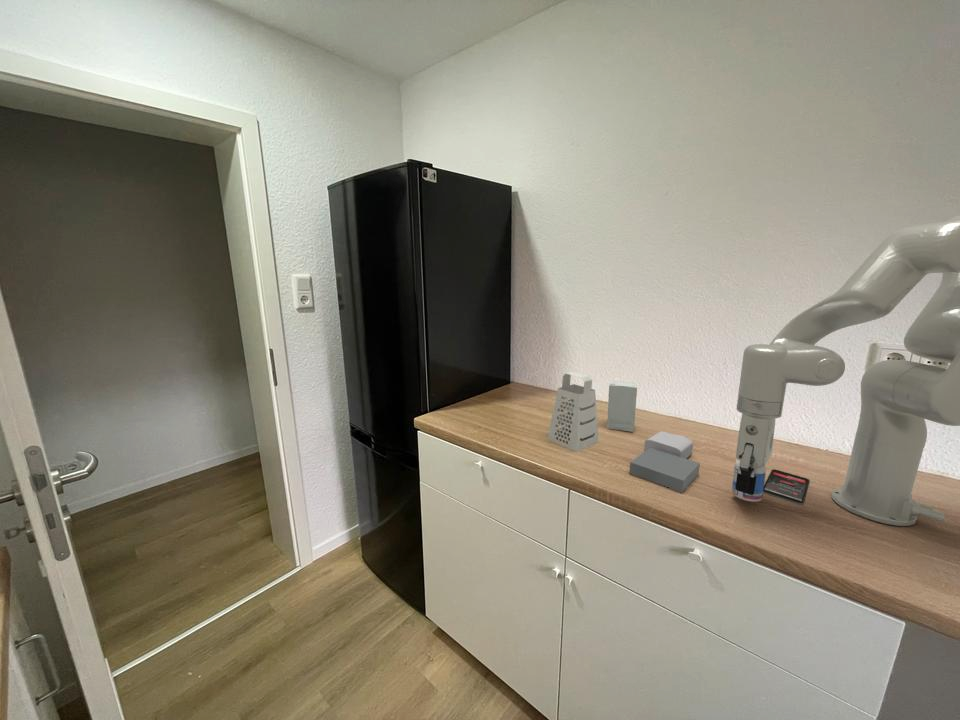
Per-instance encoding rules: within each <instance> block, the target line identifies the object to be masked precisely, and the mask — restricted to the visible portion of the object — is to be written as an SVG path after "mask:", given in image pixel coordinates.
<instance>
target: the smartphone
mask: <svg viewBox="0 0 960 720" xmlns="http://www.w3.org/2000/svg"><path fill="white" fill-rule="evenodd" d="M809 484H810V479H808V478H807V477H804V476H800V475H796V474H793V473H789V472H785V471H782V470H779V469H774V468H772V469H771V471H770V472H769V475H768V476H767V479H766V481H764V489H763V494H765V495H768V496H771V497H773V498H777V499H781V500H784V501H786V502H790V503H792V504H795V505H799V506H804V504H805V503H804V502H805V499H806V495H807V492H808V487H809Z"/></svg>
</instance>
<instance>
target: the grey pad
mask: <svg viewBox="0 0 960 720" xmlns="http://www.w3.org/2000/svg"><path fill="white" fill-rule="evenodd" d="M700 464H701V462H698V461H694V460H691V459H689V458H686V459H685V458H682V457H679V456H675V455H672V454H669V453H666V452H663V451H659V450H656V449H653V448H649V449H647V450H646V451H645V452H644V451H643V452H642V453H640V455H638V456H636V457H635V458H634V459H633V460H631V461H630V463H629V475H632V476H635V477H637V478H640V479H642V480H645V479H646V481H648V482H651V483H653V482H654V484H656V483H657V485H659V484H660V485H659V486H661V487H664V486H665V487H664V488H667V487H669V488H668V489H670V488H671V489H670V490H672V489H673V490H672V491H675V490H676V492H677V493H680V492H681V494H682V493H683V492H685V490H686V489H687V488H688V487H689V485H690V484H691V483H692V482H693V481H694V480H695V479H696V478H697V476H699V472H700V466H701V465H700Z"/></svg>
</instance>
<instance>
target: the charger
mask: <svg viewBox="0 0 960 720" xmlns="http://www.w3.org/2000/svg"><path fill="white" fill-rule="evenodd" d="M649 448H653V449H656V450H659V451H663V452H666V453H669V454H672V455H675V456H679V457H682V458H685V459H689V457H690V456H691V455H692V454H693V450H694V449H693V448H694V442H693V441H692V439H690V438H688V437H687V436H684V435H681V434H672V433H670V432H666V431H659V432H657V433H655V434H654V435H652V436H649V437H648V438H647V439H645V440H644V445H643V452H645V451H646V450H647V449H649Z"/></svg>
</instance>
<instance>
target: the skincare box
mask: <svg viewBox="0 0 960 720" xmlns="http://www.w3.org/2000/svg"><path fill="white" fill-rule="evenodd" d="M637 395H638V383H637V382H635V381H618V380H610V383H609V385H608V404H607V419H606V420H607V422H606V426H607V427H606V428H607V429H609V430H616V431H623V432H629V433H634V432H635V425H636V424H635V421H636V410H637V409H636V405H637Z"/></svg>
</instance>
